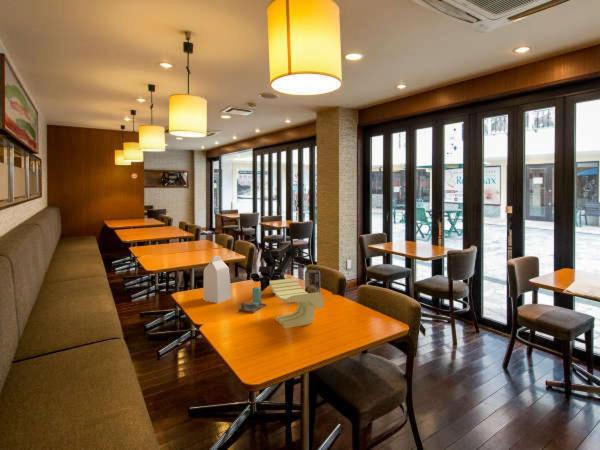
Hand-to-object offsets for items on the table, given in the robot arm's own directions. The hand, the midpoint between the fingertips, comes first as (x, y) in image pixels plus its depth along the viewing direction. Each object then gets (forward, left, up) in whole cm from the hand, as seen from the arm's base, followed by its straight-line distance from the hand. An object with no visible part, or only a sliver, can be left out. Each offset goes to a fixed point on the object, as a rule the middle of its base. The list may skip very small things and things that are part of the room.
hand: (261, 290), depth 212 cm
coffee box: (-7, +31, -7) cm, 33 cm away
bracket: (+9, -5, -7) cm, 12 cm away
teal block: (+8, -4, -6) cm, 11 cm away
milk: (-12, -26, -7) cm, 30 cm away
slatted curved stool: (+32, +16, -7) cm, 37 cm away
